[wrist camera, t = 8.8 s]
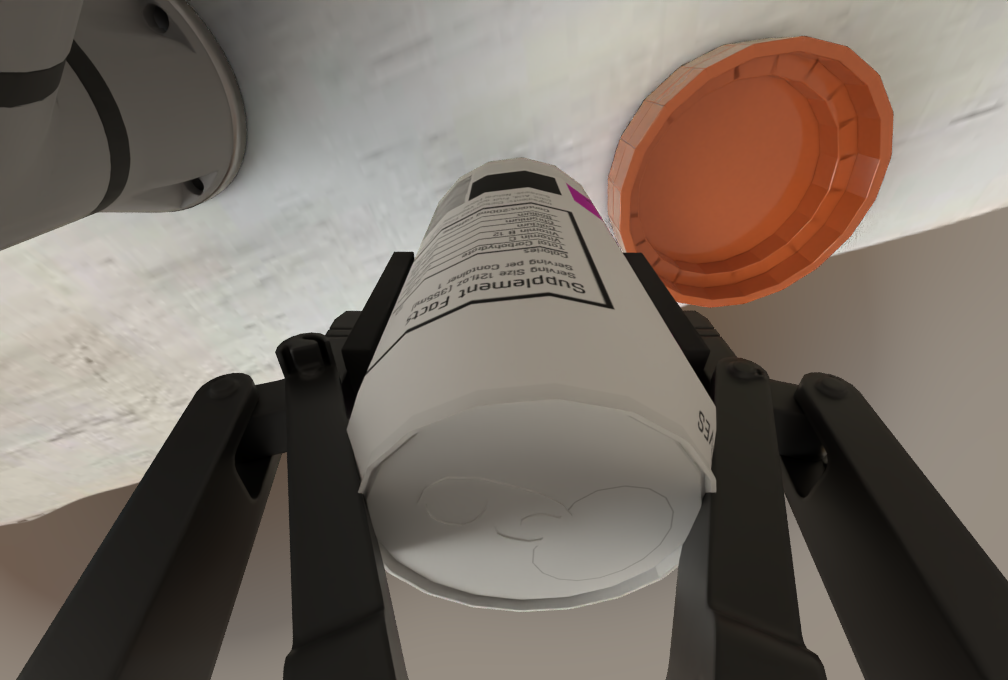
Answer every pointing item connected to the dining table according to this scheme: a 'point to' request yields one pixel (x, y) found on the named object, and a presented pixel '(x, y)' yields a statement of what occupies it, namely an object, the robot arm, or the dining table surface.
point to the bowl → (750, 167)
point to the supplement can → (529, 407)
